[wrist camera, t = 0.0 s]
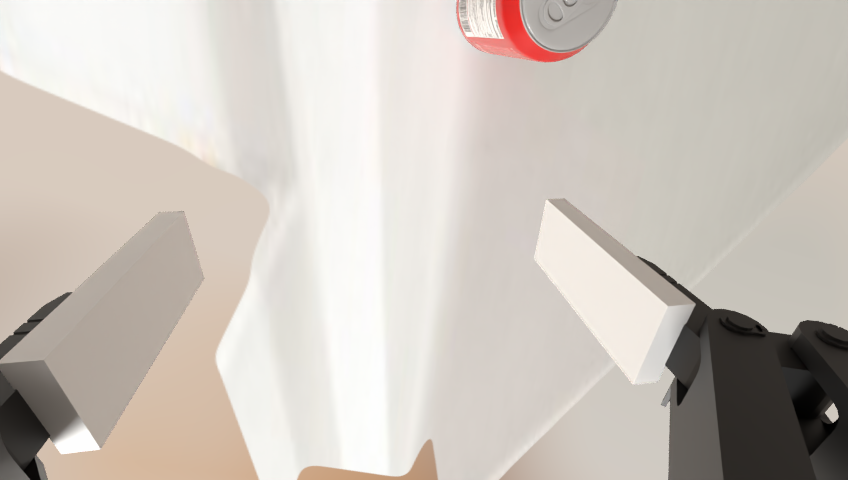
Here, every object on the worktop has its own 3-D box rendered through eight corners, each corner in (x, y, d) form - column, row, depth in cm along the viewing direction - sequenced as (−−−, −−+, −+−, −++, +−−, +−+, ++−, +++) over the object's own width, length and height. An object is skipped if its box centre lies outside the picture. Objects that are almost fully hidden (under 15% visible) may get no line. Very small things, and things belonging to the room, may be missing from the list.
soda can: (436, 6, 35) (484, -9, 22) (499, -67, 33) (592, -130, 20) (488, 70, 38) (555, 90, 26) (548, 7, 37) (653, -5, 24)
